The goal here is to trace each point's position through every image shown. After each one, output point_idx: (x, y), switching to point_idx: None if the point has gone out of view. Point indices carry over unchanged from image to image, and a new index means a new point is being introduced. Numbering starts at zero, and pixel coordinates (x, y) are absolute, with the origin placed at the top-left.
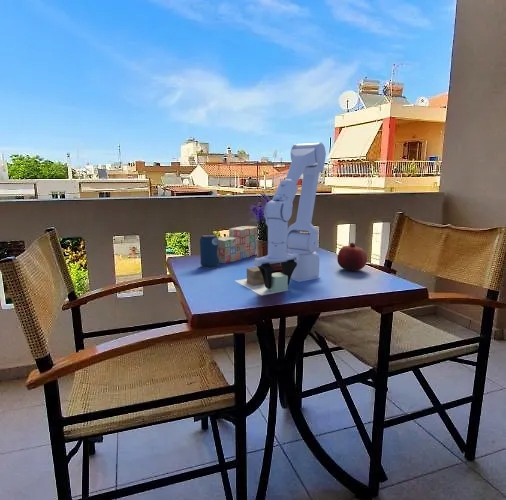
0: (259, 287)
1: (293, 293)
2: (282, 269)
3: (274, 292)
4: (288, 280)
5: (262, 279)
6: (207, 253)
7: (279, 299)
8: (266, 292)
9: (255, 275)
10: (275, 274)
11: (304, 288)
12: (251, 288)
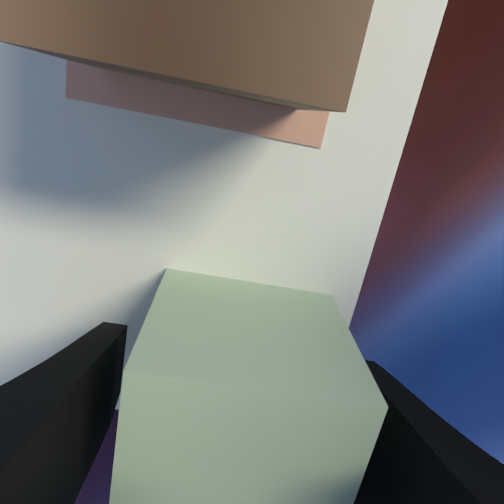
0: (118, 185)
1: None
2: (449, 474)
3: None
4: None
5: (243, 96)
6: None
7: (93, 501)
8: None
9: (81, 61)
10: (234, 458)
11: (473, 442)
12: (9, 148)
